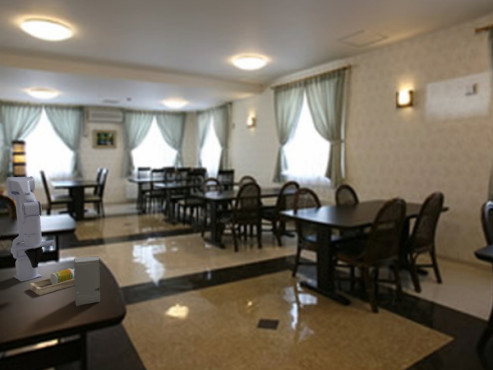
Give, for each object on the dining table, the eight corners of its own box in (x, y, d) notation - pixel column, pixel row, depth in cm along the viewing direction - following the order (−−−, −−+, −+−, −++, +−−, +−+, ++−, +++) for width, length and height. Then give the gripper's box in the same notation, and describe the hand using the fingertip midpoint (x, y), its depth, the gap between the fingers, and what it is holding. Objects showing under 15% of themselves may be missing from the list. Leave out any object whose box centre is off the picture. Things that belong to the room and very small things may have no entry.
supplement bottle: (57, 277, 136) (80, 270, 144) (50, 271, 139) (73, 264, 147) (55, 288, 137) (79, 281, 145) (49, 282, 140) (72, 275, 148)
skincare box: (75, 306, 120) (73, 263, 118) (75, 299, 126) (72, 257, 124) (101, 301, 124) (99, 259, 122) (100, 294, 130) (97, 254, 128)
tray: (29, 289, 136) (29, 283, 135) (79, 275, 151) (78, 269, 151) (39, 295, 129) (39, 289, 129) (90, 280, 144) (89, 274, 144)
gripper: (14, 238, 123) (17, 274, 124) (56, 231, 134) (59, 264, 135) (7, 235, 127) (10, 270, 128) (49, 228, 138) (51, 261, 140)
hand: (34, 267), depth 132 cm, fingers closed
